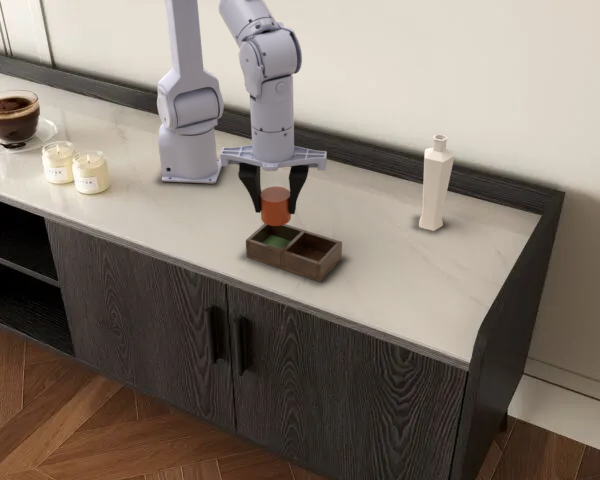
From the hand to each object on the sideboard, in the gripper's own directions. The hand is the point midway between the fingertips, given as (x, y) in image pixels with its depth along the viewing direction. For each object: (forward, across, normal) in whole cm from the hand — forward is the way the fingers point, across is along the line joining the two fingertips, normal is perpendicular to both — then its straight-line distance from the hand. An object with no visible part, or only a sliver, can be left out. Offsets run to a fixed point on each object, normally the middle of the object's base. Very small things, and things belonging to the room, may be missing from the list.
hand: (275, 209), depth 110 cm
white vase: (+8, +23, +10) cm, 26 cm away
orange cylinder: (+1, 0, 0) cm, 1 cm away
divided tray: (+7, +3, -1) cm, 8 cm away
